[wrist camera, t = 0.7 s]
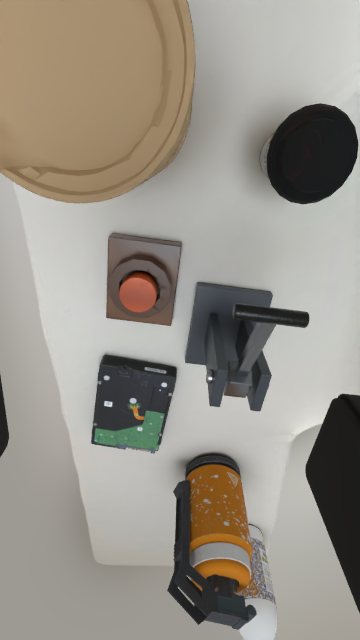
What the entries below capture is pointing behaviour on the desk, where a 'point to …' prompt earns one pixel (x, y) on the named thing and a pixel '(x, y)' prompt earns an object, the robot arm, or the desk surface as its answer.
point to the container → (93, 93)
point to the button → (138, 292)
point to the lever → (257, 342)
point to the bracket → (225, 338)
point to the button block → (147, 258)
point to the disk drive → (132, 403)
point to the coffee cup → (310, 153)
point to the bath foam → (259, 593)
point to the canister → (212, 544)
